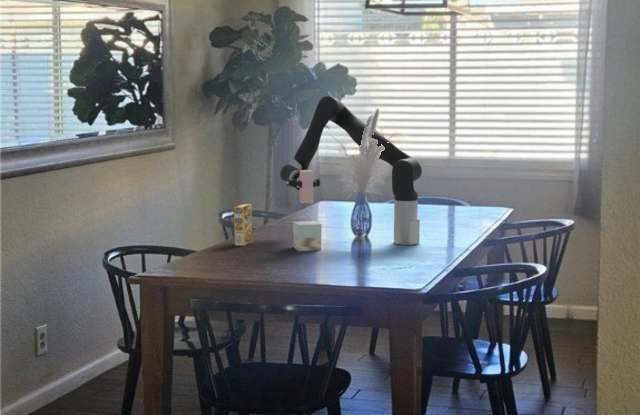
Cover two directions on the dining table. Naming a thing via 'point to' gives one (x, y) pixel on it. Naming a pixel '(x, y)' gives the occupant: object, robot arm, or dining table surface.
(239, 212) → the candy box
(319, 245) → the tower base
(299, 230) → the tower top
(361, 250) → the dining table surface
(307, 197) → the pillar block
